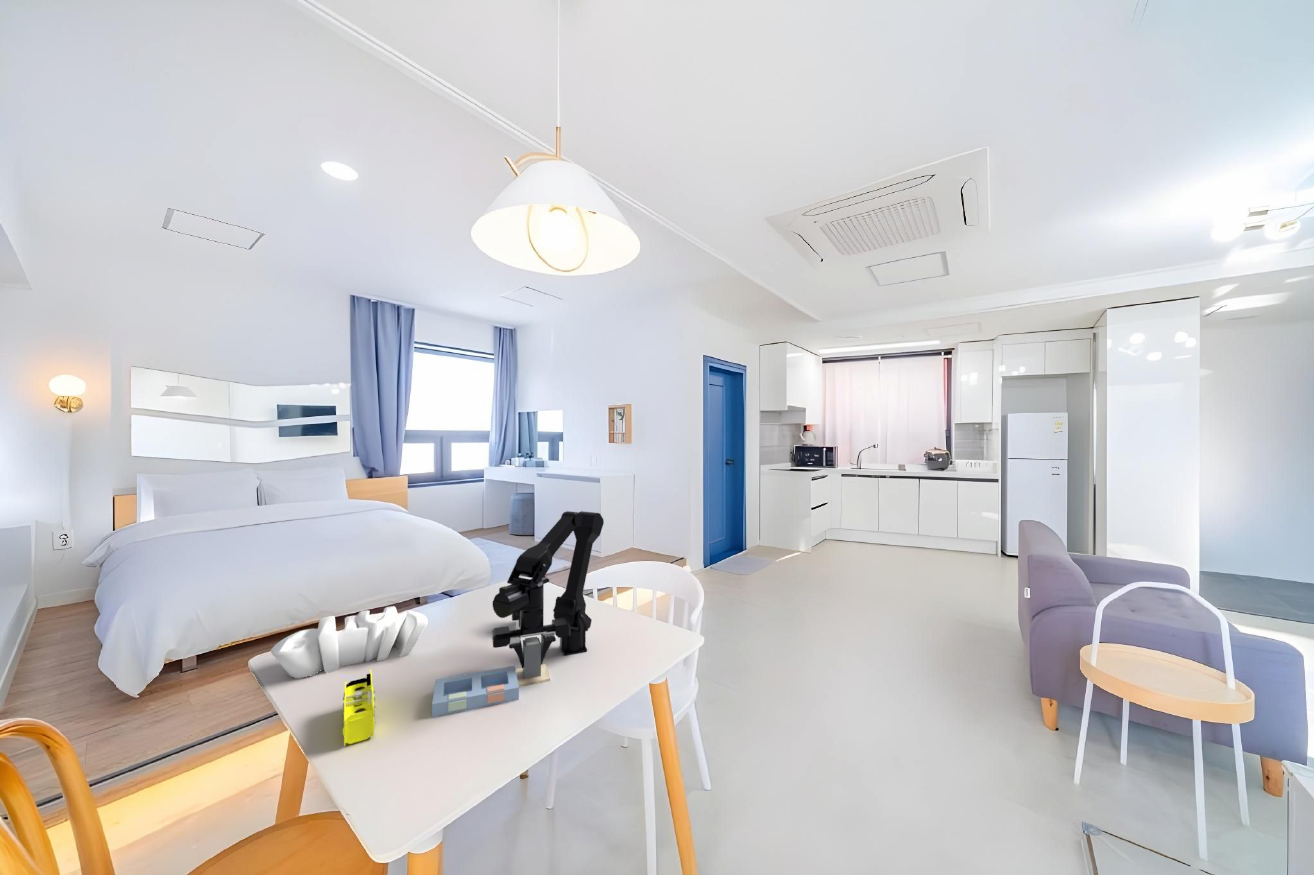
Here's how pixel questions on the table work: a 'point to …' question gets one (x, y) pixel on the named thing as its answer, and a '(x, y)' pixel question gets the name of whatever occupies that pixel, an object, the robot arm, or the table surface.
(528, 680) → the coaster
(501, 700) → the dock
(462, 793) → the table surface
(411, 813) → the table surface
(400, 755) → the table surface
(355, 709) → the yellow toy chassis
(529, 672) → the plug
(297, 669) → the wavy white extrusion
